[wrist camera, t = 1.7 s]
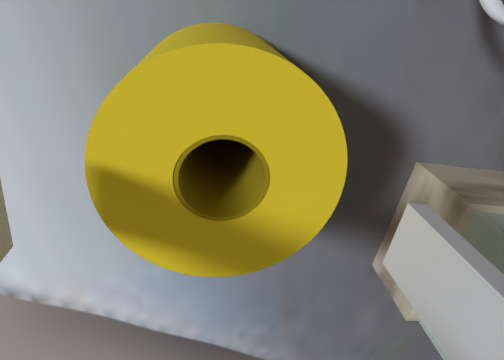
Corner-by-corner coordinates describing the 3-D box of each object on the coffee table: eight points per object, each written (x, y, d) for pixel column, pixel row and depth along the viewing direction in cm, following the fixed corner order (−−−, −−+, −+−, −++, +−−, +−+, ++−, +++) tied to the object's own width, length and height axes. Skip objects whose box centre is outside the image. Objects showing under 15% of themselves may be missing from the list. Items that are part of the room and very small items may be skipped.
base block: (414, 160, 25) (469, 203, 20) (526, 173, 27) (603, 216, 22) (370, 263, 30) (405, 320, 24) (469, 268, 31) (521, 323, 26)
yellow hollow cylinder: (264, 192, 25) (292, 291, 16) (122, 160, 22) (72, 256, 14) (318, 55, 21) (393, 94, 12) (151, -5, 18) (103, -4, 10)
